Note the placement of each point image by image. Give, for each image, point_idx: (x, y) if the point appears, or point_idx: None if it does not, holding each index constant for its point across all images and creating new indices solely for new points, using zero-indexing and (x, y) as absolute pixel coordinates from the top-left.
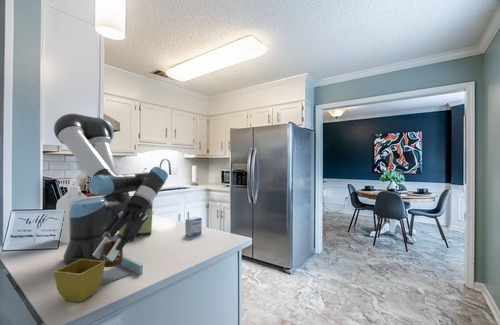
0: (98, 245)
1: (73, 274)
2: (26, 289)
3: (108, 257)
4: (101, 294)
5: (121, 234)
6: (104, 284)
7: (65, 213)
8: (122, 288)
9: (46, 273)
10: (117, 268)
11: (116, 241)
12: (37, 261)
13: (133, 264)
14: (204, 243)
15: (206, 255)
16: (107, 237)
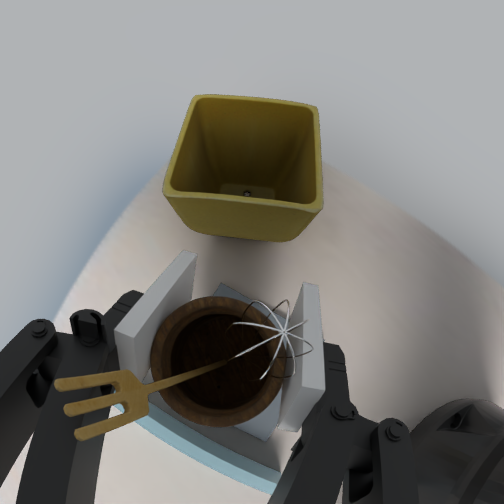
0: (337, 345)
1: (223, 95)
2: (436, 235)
3: (181, 254)
4: (186, 231)
5: (109, 372)
6: (216, 290)
7: None
8: (136, 273)
9: (474, 329)
10: (251, 425)
11: (218, 416)
12: None
13: (158, 420)
14: None
15: (5, 498)
16: (297, 392)
